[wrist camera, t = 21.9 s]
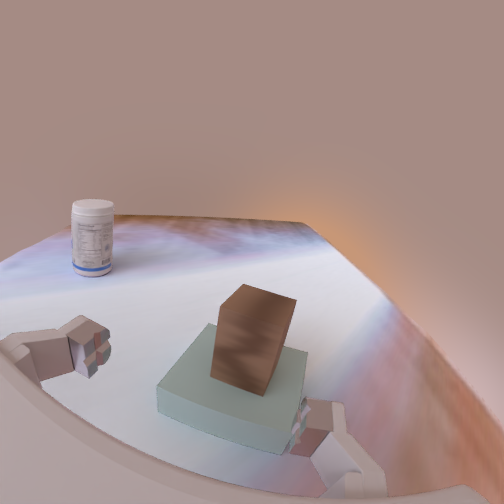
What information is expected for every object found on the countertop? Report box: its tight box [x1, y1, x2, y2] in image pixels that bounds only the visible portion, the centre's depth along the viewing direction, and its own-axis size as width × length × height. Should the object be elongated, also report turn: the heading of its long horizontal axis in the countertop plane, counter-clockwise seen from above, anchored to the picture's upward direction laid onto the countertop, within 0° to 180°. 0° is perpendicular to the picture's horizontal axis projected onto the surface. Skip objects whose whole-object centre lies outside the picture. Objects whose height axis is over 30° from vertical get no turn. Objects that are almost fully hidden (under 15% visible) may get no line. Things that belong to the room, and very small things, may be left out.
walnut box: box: [210, 284, 297, 397], centre depth 27 cm, size 6×6×9 cm
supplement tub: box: [72, 199, 114, 277], centre depth 50 cm, size 10×10×15 cm
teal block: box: [156, 323, 308, 455], centre depth 30 cm, size 14×14×5 cm
